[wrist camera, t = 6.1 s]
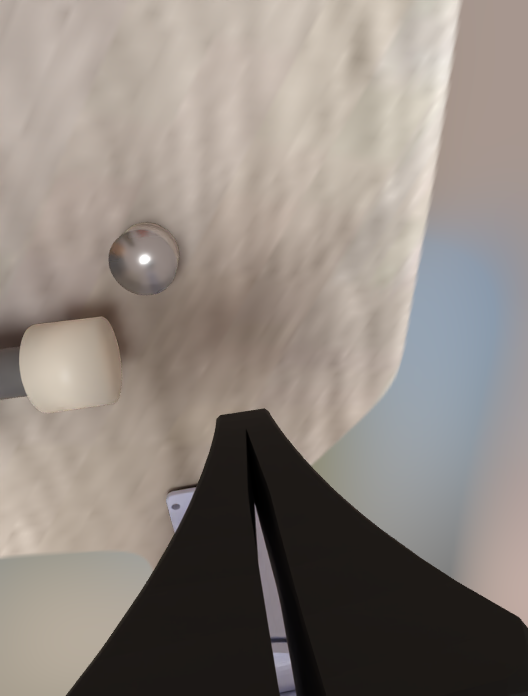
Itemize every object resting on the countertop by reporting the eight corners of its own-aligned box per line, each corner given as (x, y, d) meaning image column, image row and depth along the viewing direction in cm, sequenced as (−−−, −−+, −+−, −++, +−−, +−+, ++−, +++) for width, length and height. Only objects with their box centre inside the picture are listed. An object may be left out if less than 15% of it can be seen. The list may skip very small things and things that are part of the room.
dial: (183, 277, 17) (181, 291, 15) (127, 283, 17) (118, 298, 15) (173, 219, 16) (169, 227, 14) (112, 225, 16) (100, 234, 14)
